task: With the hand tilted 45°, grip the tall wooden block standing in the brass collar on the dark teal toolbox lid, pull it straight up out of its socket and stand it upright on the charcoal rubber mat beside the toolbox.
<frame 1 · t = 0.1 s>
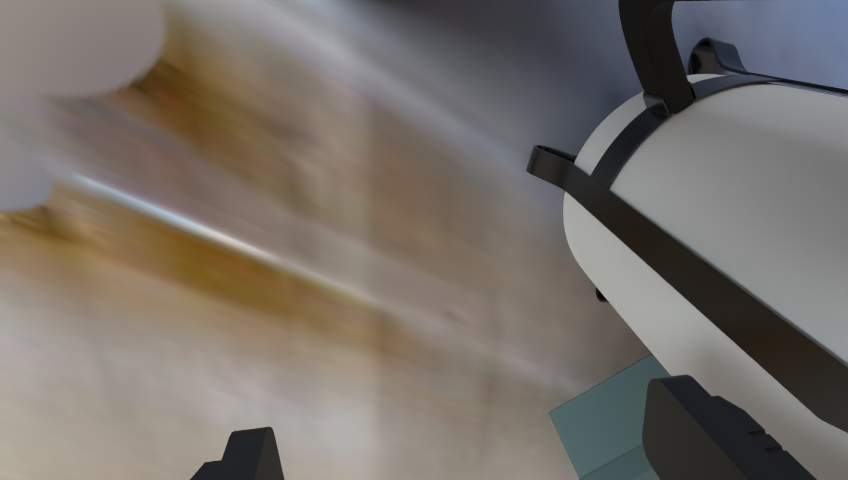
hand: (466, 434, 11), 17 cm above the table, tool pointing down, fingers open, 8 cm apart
coffee press: (634, 164, 28), on the table
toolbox: (669, 436, 37), on the table
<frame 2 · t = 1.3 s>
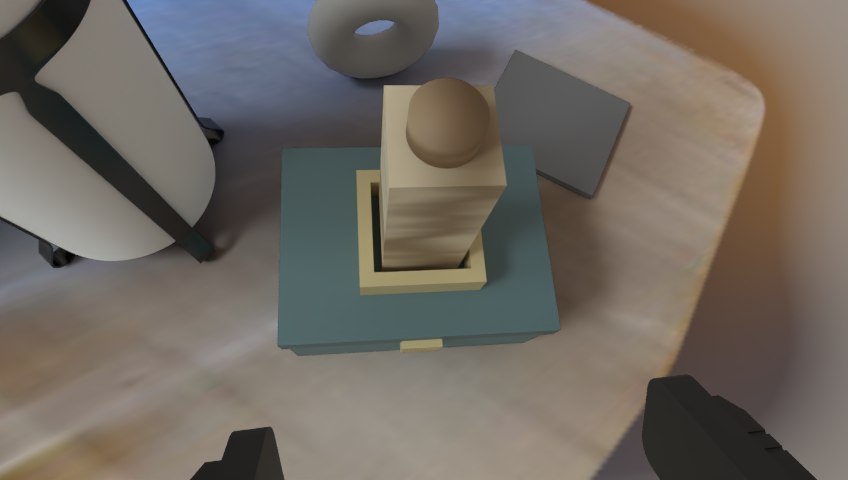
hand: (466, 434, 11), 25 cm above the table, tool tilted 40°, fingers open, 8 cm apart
donut: (373, 71, 43), on the table
wooden block: (416, 236, 31), point 7 cm above the table, touching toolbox
coffee press: (124, 199, 37), on the table
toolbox: (408, 267, 38), on the table
rubber mat: (550, 123, 43), on the table
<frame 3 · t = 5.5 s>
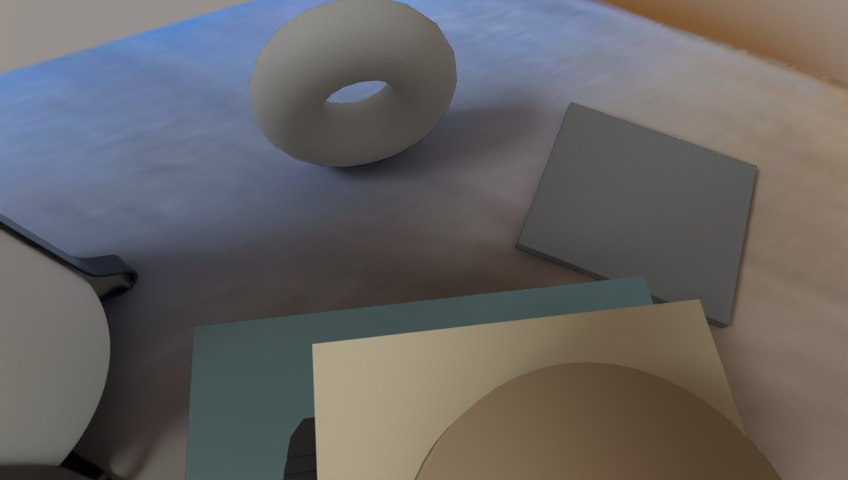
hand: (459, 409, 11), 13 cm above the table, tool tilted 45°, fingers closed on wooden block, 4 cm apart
donut: (364, 153, 29), on the table
rubber mat: (637, 207, 28), on the table
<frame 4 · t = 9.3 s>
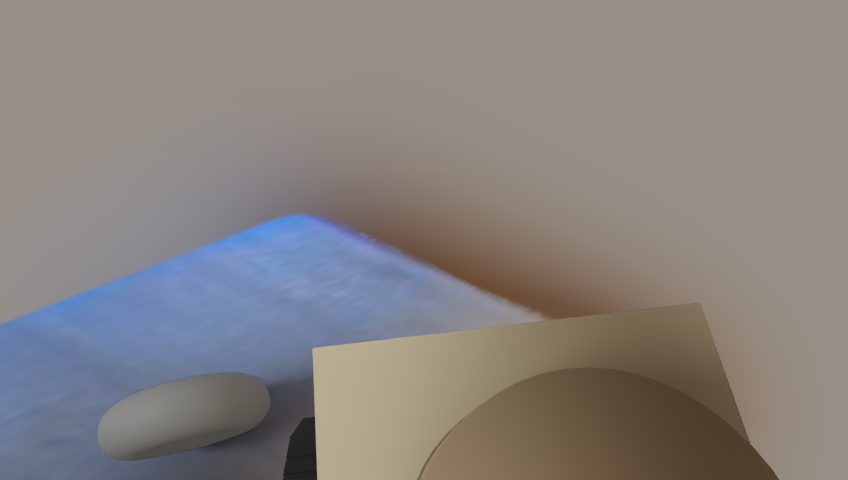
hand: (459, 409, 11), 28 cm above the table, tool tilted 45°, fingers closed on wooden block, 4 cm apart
donut: (217, 421, 37), on the table
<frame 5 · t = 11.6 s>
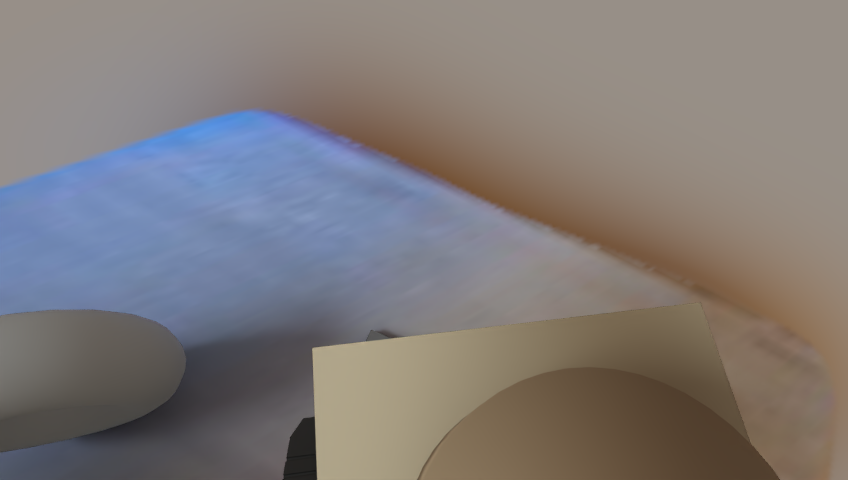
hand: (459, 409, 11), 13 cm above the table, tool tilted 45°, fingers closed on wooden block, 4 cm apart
donut: (113, 400, 24), on the table
when the fingers open (8 cm above the table, at t = 13.3 s): wooden block drops 1 cm, resting on rubber mat.
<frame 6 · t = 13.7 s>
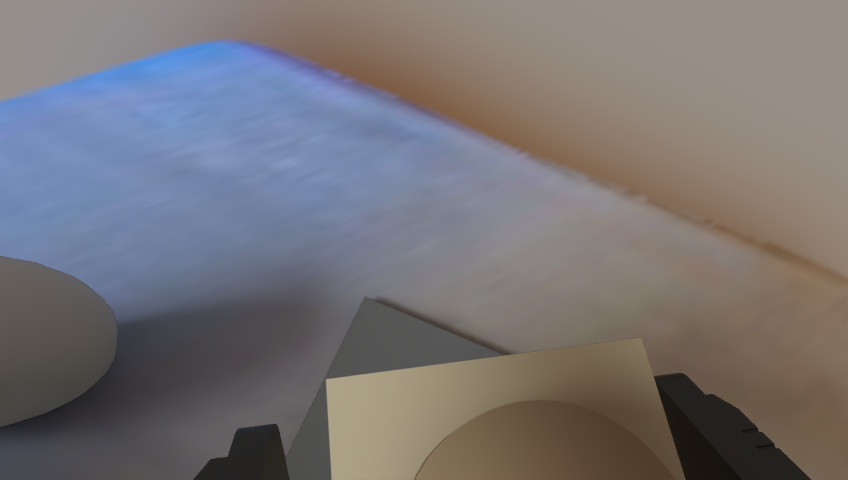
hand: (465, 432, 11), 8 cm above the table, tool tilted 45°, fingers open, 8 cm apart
donut: (35, 385, 19), on the table
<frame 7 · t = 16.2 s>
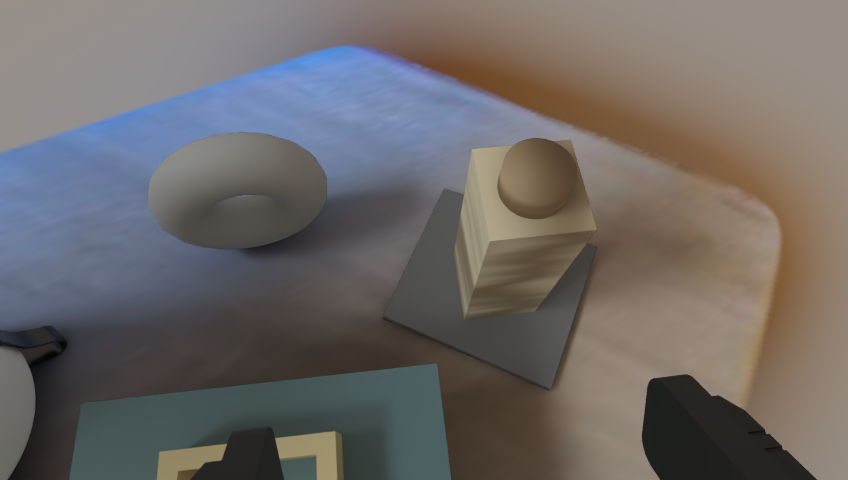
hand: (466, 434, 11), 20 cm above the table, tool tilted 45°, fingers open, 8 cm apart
donut: (266, 233, 35), on the table
wooden block: (493, 281, 33), point 1 cm above the table, touching rubber mat
rubber mat: (491, 283, 33), on the table
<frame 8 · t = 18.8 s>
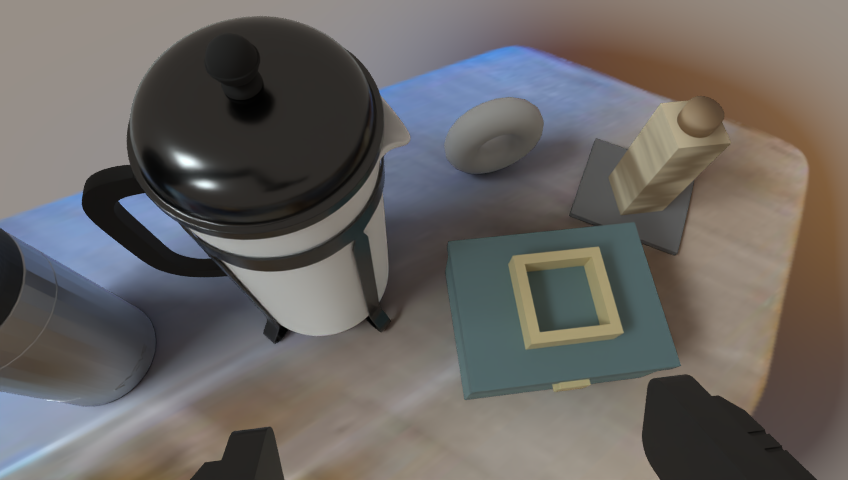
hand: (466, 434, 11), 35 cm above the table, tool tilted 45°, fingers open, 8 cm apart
donut: (486, 166, 54), on the table
wooden block: (635, 193, 53), point 1 cm above the table, touching rubber mat
coffee press: (314, 286, 48), on the table
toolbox: (538, 322, 47), on the table
rubber mat: (632, 195, 53), on the table
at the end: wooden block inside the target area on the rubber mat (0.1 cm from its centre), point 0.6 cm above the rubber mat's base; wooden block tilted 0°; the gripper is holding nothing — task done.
